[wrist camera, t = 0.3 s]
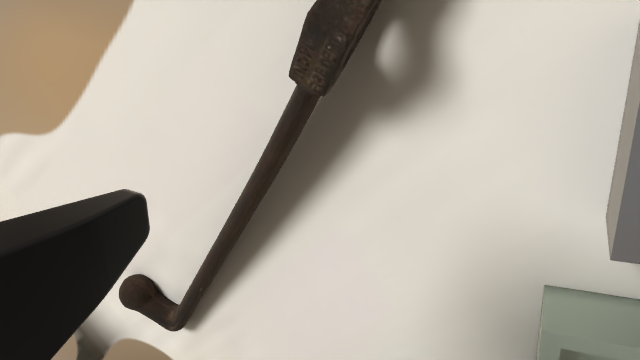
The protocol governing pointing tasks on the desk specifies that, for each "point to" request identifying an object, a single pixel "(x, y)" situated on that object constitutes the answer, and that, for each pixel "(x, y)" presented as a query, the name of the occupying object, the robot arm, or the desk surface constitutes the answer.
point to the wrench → (268, 147)
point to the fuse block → (627, 177)
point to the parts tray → (588, 326)
